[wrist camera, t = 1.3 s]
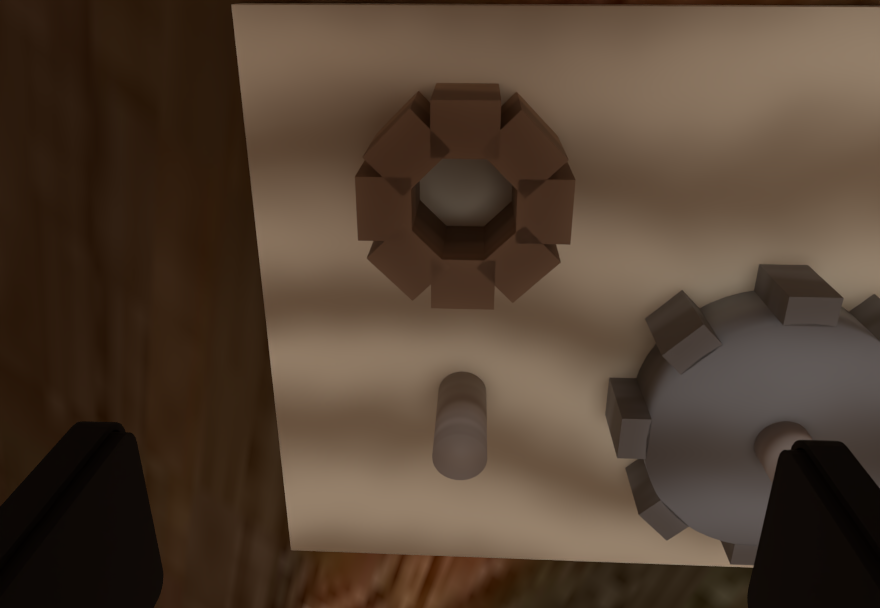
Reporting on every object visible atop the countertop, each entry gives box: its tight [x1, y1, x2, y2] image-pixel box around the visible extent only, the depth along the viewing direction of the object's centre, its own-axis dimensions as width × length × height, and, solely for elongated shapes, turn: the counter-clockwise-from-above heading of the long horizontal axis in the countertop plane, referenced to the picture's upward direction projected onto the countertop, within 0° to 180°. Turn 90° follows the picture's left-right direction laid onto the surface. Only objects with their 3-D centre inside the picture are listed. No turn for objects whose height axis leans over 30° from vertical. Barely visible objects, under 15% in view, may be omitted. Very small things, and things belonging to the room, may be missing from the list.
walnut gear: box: [355, 83, 576, 310], centre depth 25 cm, size 7×7×4 cm
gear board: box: [231, 3, 880, 567], centre depth 28 cm, size 24×30×6 cm
